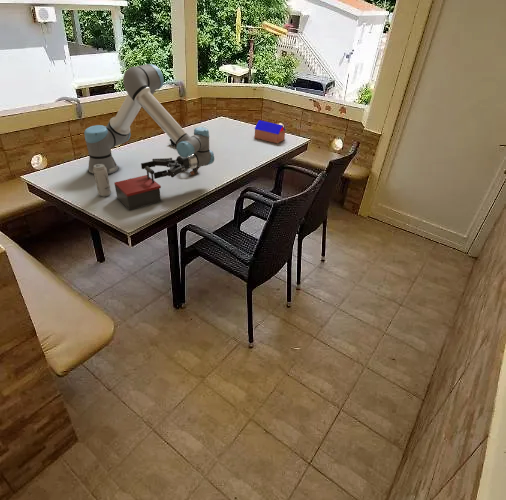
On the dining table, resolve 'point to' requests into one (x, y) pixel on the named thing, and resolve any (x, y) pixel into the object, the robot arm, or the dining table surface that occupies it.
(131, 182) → the lid
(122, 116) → the robot arm
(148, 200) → the dark gray box
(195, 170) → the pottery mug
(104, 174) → the energy drink can
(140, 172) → the dining table surface
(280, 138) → the house
